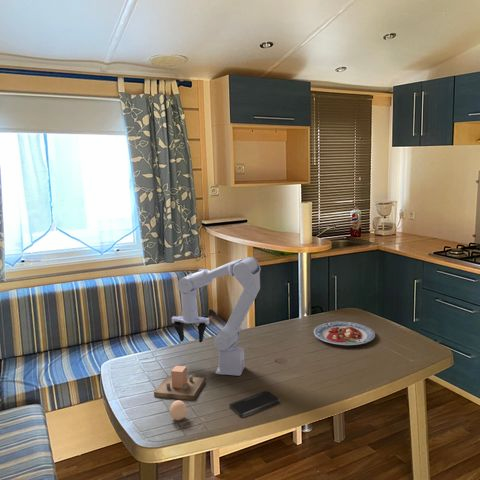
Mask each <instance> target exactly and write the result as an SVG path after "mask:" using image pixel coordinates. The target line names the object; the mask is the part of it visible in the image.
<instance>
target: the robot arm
mask: <svg viewBox="0 0 480 480" xmlns="http://www.w3.org/2000/svg"><path fill="white" fill-rule="evenodd" d="M261 269H262V267H261V266H260V264H259V261H258V260H257V259H256V258H255V257H252V256H248V257H245V258H240V259H235V260H232V261H230V262H228V263H225V264H222V265H221V266H219V267H216V268H213V269H211V270H210V269H207V268H200V269H198V271H196V272H194V273H192V272H191V273H189V274H188V275H186V276H184V277H181V278H180V279H179V280H178V281H177V289H178V291H179V292H180V296H181V297H180V298H181V312H182V313H181V314H182V315H181V316H180V315H179V316H174V315H173V316H172V317H171V323H172V324H173V328H174V330H175V331H176V332H177V335H178V338H179V341H180V342H184V340H185V335H184V334H185V331H184V330H185V328H184V327H185V326H184V325H185V324H197V327H196V328H197V331H198V342H199V343H203V341H204V334H205V331H206V328H207V326H208V325H209V324H210V318H209V317H203V316H198V315H199V314H198V300H197V291H198V289H200V288H202V287H205V286H208V285H211V284H212V282H213V280H214V279H216V278H219V277H223V276H225V275H229V276H230V277H231V278H232V277H234V279H236V280H237V282H238V283H239V284H240V285H241V287H242V288H243V290H242V292H241V294H240V296H239V299H237V302H236V305H235V306H234V308H233V310H232V312H231V314H230V316H229V318H228V320H227V322H226V324H225V325H224V327H222V329H221V330H220V333H219V334H216V335H215V337H214V338H213V339H214V340H213V345H214V347H215V348H216V349H217V360H218V363H217V364H218V366H217V369H216V370H215V375H224V376H226V375H227V376H236V377H237V376H239V377H240V376H241V375H242V373H243V371H244V369H245V367H246V365H245V349H244V348H242V347H239V346H238V341H239V339H240V333H241V330H242V328H241V327H242V325H243V322H244V321H245V318H246V316H247V315H248V313H249V311H250V309H251V307H252V305H253V303H254V301H255V299H256V298H257V295H258V293H259V291H260V289H261V277H260V276H261Z"/></svg>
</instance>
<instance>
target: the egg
mask: <svg viewBox="0 0 480 480" xmlns="http://www.w3.org/2000/svg"><path fill="white" fill-rule="evenodd" d="M187 412H188V411H187V406H186V404H185V403H184V401H182V400H181V399H178V400H175V401H173V402H172V403H171V405H170V407H169V415H170V417H171V419H173V420H175V421H181V420H183V419H184V418H185V417H186V415H187Z"/></svg>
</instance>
